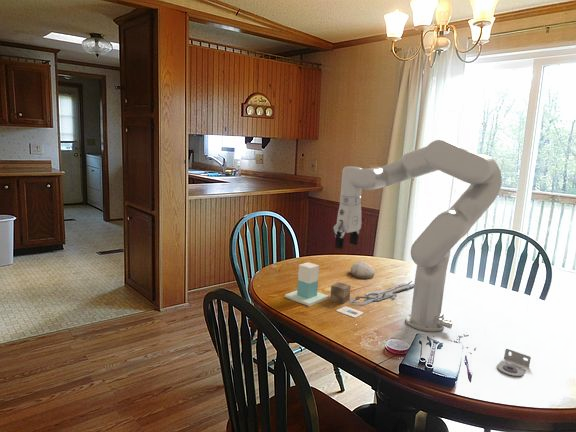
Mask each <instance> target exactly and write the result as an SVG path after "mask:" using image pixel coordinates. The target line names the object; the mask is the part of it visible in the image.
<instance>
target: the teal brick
mask: <svg viewBox="0 0 576 432" xmlns="http://www.w3.org/2000/svg"><path fill="white" fill-rule="evenodd" d="M318 285H319V280H318V281H316V282H313V283H310V284H309V283H306V282H303V281H300V280H298V279H297V289H296V290H297V295H299V296H301V297H304V298H307V299H309V298H312V297H315V296H317V292H318V290H319V289H318V287H319V286H318Z"/></svg>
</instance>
